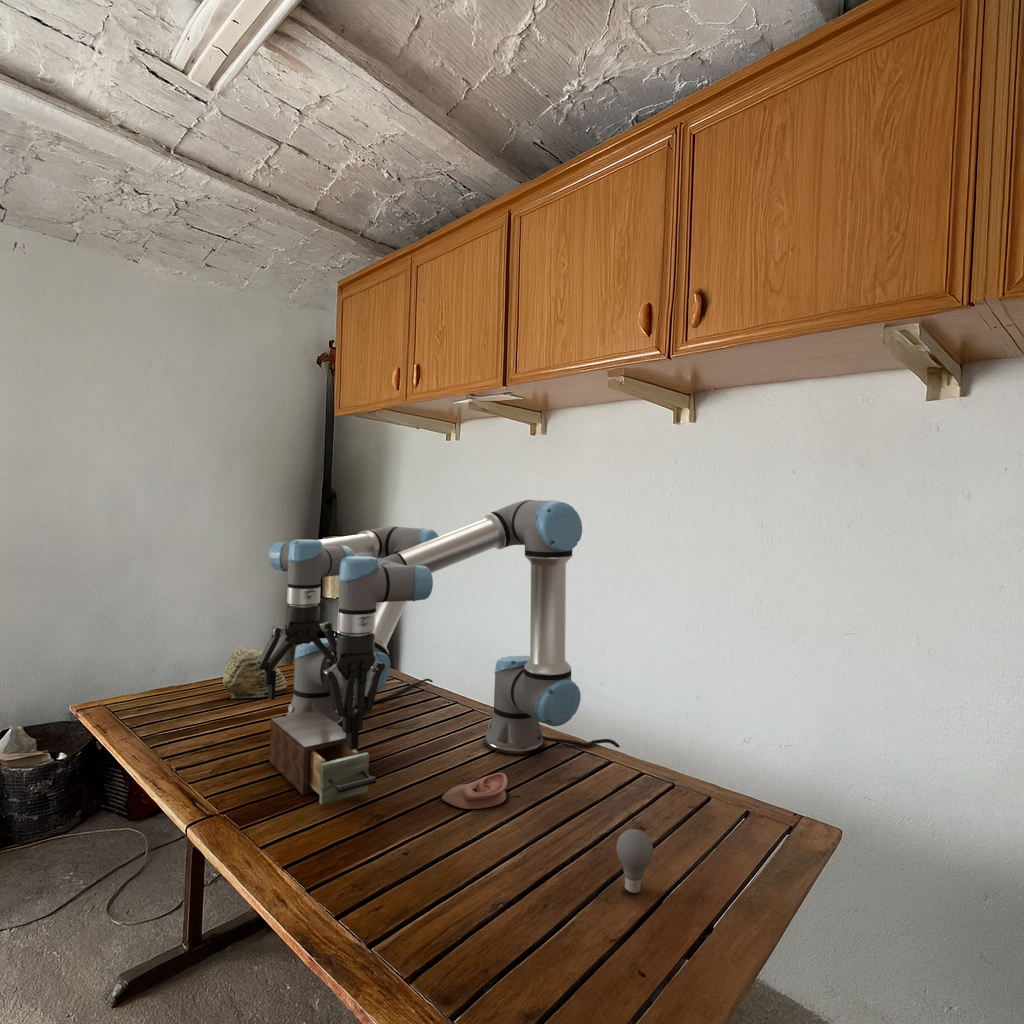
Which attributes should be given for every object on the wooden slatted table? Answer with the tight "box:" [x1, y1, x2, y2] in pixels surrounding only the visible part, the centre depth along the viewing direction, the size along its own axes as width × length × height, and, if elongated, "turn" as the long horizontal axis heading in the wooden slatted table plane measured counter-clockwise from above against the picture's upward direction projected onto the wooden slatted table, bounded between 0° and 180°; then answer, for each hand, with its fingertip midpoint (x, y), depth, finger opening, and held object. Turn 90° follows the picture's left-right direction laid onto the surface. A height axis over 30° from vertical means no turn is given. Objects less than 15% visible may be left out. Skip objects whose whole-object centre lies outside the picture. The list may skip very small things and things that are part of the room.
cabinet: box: [268, 710, 346, 796], centre depth 146 cm, size 21×11×10 cm, turn 40°
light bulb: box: [615, 828, 654, 894], centre depth 106 cm, size 6×6×10 cm
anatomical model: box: [441, 772, 508, 810], centre depth 136 cm, size 13×4×12 cm
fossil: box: [222, 646, 288, 699], centre depth 198 cm, size 9×18×15 cm, turn 132°
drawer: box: [308, 743, 377, 806], centre depth 137 cm, size 25×10×8 cm, turn 40°
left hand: (300, 693), depth 151 cm, fingers open, 13 cm apart
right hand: (351, 747), depth 130 cm, fingers closed
